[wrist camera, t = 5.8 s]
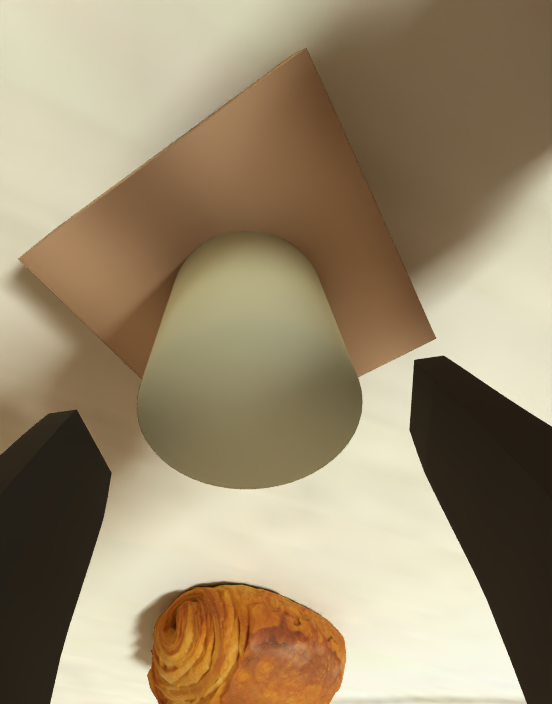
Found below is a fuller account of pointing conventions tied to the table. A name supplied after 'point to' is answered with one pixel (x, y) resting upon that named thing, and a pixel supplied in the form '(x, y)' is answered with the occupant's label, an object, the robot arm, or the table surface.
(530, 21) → the table surface
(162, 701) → the croissant
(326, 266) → the walnut base
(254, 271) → the sage cylinder
